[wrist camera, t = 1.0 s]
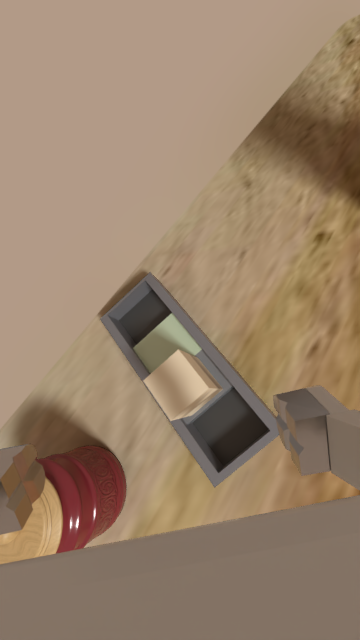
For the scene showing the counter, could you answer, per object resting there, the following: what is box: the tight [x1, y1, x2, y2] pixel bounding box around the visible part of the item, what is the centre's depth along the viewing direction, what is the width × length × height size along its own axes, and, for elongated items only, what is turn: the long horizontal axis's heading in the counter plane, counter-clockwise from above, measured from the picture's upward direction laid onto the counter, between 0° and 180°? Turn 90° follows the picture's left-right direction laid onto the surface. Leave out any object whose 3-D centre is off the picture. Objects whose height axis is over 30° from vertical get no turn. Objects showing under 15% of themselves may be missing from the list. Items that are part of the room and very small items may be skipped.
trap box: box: [100, 273, 279, 487], centre depth 45 cm, size 12×32×4 cm, turn 39°
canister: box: [0, 446, 126, 564], centre depth 39 cm, size 13×13×18 cm
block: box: [143, 349, 223, 421], centre depth 38 cm, size 6×6×9 cm
